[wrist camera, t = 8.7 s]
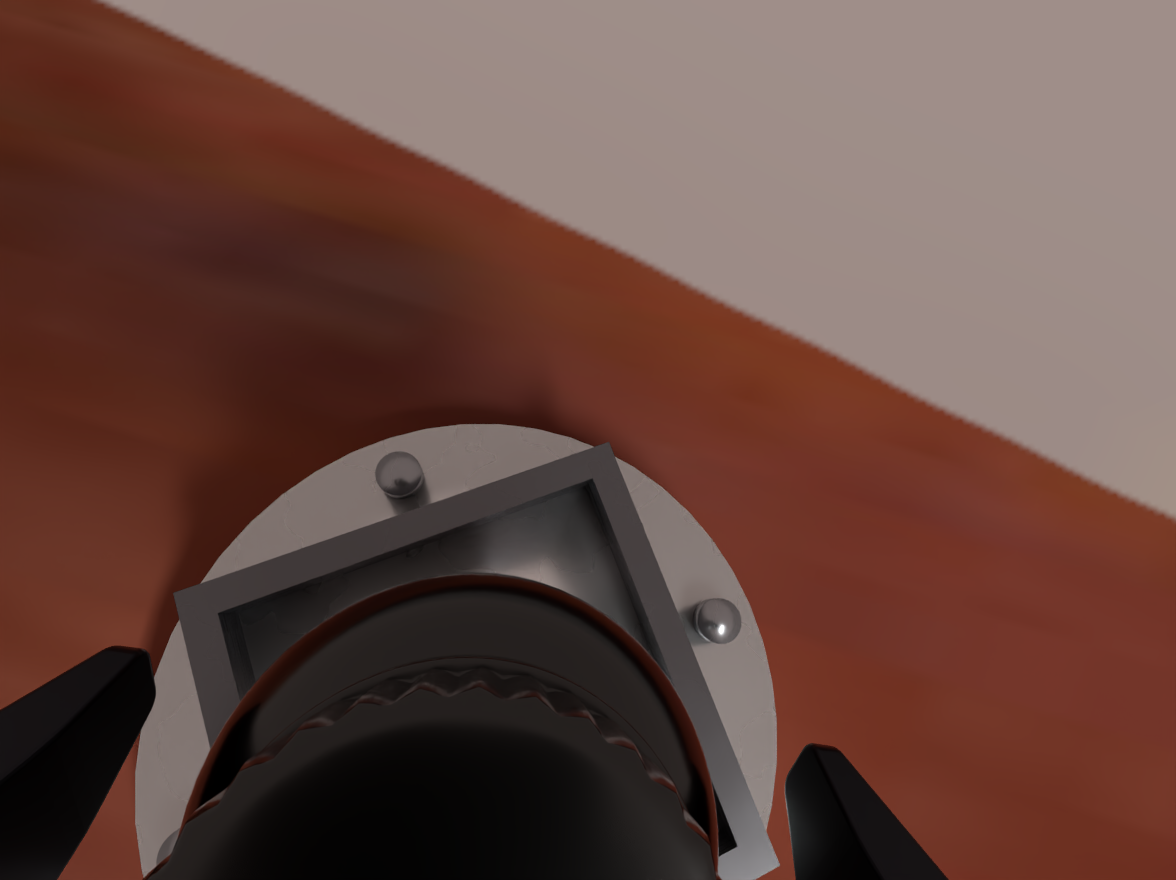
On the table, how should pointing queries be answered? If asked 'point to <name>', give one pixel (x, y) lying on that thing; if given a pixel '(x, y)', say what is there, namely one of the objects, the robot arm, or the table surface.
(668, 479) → the table surface
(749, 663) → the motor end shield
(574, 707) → the supplement bottle
